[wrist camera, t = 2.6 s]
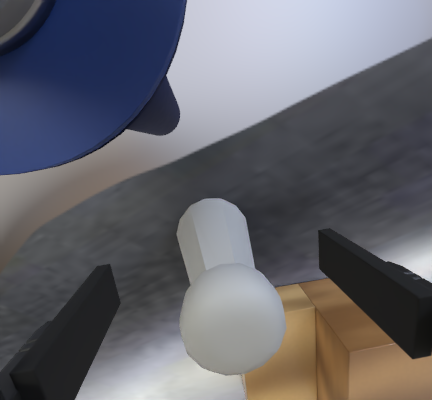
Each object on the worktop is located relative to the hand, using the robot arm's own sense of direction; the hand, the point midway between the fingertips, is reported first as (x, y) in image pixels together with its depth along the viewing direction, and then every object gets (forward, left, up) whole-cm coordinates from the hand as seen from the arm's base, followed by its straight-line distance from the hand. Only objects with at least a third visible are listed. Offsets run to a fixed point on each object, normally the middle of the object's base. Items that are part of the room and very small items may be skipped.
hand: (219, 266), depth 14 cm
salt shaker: (0, 0, -7) cm, 7 cm away
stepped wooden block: (+14, +9, -7) cm, 18 cm away
